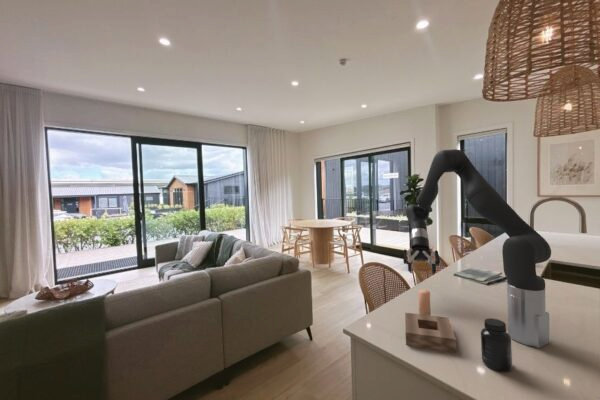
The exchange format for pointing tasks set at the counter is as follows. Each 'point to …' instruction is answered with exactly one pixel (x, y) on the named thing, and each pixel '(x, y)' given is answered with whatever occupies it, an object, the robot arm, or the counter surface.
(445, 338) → the socket block
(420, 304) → the pin
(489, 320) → the supplement bottle
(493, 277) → the dish towel
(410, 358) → the counter surface
